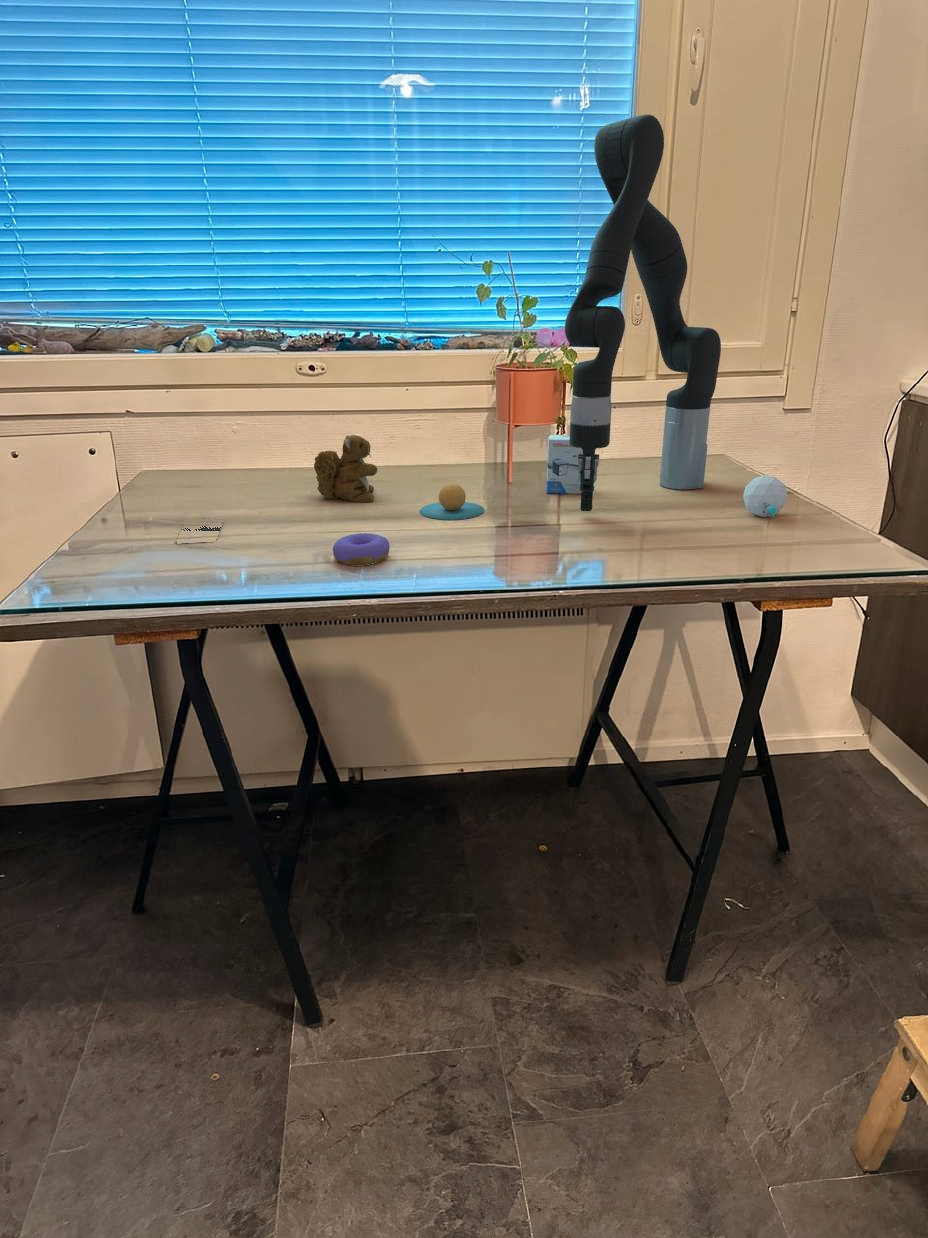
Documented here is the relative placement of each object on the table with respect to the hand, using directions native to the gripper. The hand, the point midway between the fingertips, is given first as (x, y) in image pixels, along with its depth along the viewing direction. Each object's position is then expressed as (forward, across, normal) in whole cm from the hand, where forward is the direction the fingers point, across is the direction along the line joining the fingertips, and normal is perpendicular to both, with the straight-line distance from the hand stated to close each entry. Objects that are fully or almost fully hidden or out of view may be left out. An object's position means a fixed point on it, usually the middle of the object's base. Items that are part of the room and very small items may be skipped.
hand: (586, 509), depth 159 cm
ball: (-1, +2, +27) cm, 27 cm away
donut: (+2, -29, +37) cm, 47 cm away
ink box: (+2, +20, +5) cm, 21 cm away
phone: (+2, -18, +72) cm, 74 cm away
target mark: (+2, +2, +27) cm, 27 cm away
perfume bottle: (+2, +4, -34) cm, 34 cm away
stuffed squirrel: (+2, +10, +52) cm, 53 cm away
